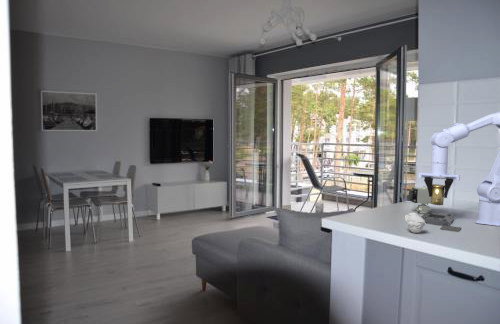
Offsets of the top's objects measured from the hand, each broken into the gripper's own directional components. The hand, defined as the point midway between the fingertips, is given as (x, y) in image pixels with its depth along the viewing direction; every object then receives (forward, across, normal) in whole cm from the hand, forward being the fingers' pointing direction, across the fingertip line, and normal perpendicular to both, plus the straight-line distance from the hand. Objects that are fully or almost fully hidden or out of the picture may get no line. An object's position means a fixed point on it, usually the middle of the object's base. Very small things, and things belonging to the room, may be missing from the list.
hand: (437, 197), depth 154 cm
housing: (+10, 0, 0) cm, 10 cm away
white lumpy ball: (+10, -3, -24) cm, 26 cm away
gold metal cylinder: (+3, 0, 0) cm, 3 cm away
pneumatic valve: (+10, -8, +14) cm, 19 cm away
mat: (+10, +6, -10) cm, 16 cm away
